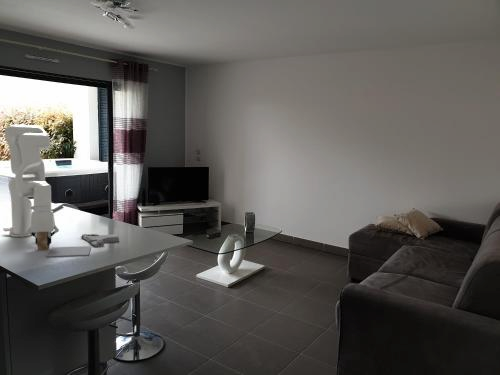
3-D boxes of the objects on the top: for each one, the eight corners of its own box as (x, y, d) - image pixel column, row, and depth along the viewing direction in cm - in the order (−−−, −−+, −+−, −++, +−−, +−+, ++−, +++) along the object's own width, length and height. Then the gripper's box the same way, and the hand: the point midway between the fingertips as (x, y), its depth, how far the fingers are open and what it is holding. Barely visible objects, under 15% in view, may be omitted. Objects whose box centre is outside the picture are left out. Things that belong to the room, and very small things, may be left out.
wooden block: (37, 250, 186) (37, 232, 185) (40, 246, 193) (40, 229, 192) (46, 250, 187) (46, 232, 186) (49, 246, 194) (49, 228, 193)
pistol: (124, 237, 207) (94, 242, 196) (124, 243, 207) (94, 248, 196) (108, 229, 221) (79, 234, 210) (108, 235, 221) (79, 239, 210)
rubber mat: (46, 257, 177) (46, 256, 177) (52, 248, 190) (52, 247, 190) (88, 255, 183) (88, 254, 182) (91, 247, 196) (91, 246, 196)
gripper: (21, 210, 181) (22, 248, 184) (60, 210, 186) (60, 246, 189) (25, 207, 188) (26, 243, 191) (62, 207, 193) (63, 242, 196)
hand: (43, 244), depth 190 cm, fingers closed on wooden block, 4 cm apart
